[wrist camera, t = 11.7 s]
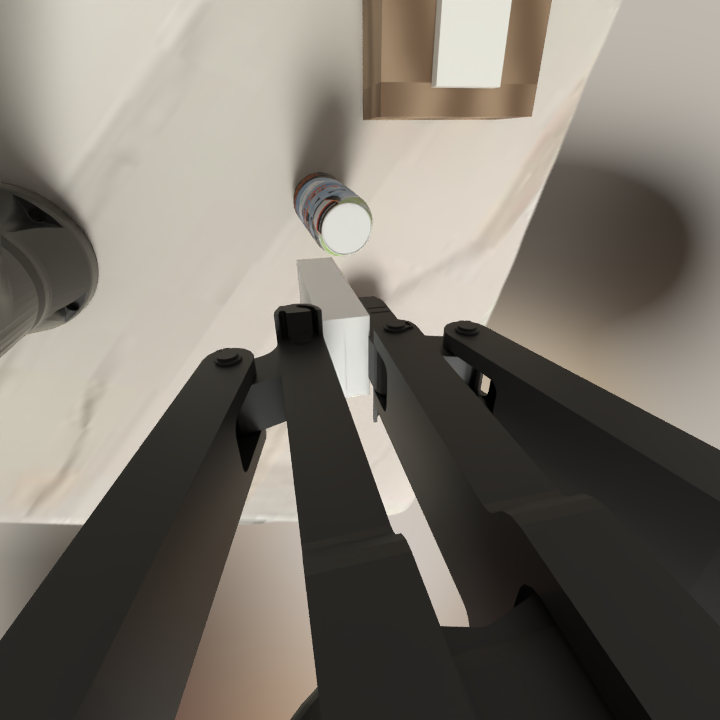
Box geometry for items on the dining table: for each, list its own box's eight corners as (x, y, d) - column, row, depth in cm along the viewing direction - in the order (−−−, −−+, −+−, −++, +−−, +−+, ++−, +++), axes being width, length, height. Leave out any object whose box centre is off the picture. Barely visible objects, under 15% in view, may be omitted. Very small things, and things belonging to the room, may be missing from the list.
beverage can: (313, 159, 44) (331, 165, 33) (362, 203, 47) (392, 220, 37) (280, 206, 45) (288, 225, 35) (330, 245, 49) (350, 273, 38)
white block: (407, 94, 42) (436, 86, 36) (410, 17, 39) (442, -8, 32) (461, 95, 44) (500, 87, 37) (469, 20, 40) (512, -4, 34)
